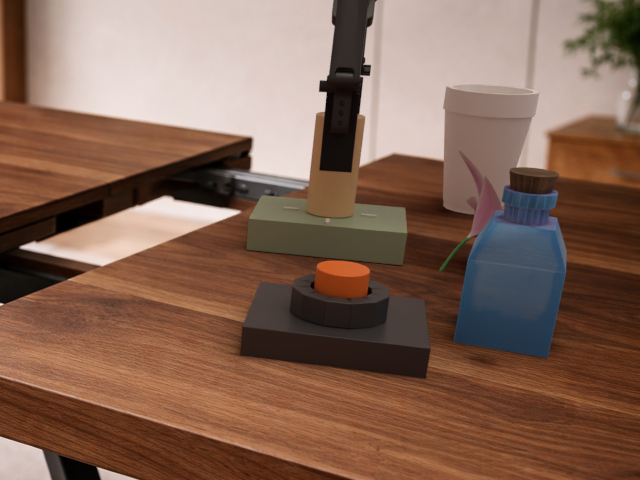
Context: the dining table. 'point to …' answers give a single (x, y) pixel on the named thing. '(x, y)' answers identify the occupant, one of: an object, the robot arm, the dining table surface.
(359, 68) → the robot arm
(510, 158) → the foam cup
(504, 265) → the perfume bottle
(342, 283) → the button
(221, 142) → the dining table surface
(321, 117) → the handle
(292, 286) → the button block
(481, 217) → the lily
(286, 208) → the panel
